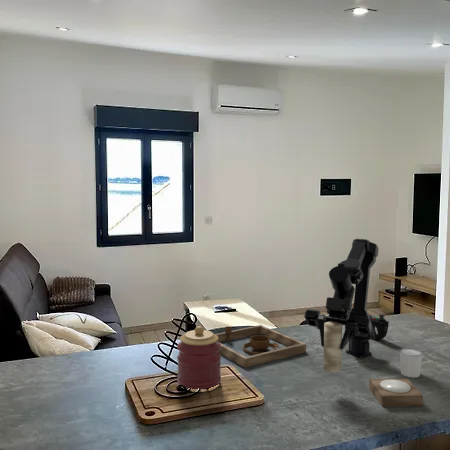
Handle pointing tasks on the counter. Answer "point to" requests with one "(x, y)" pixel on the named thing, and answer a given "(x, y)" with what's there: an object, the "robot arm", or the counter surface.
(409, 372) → the white short cylinder
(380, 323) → the controller
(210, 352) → the canister
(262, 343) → the place setting
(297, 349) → the oak tray rim
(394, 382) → the walnut plinth
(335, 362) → the birch pillar
